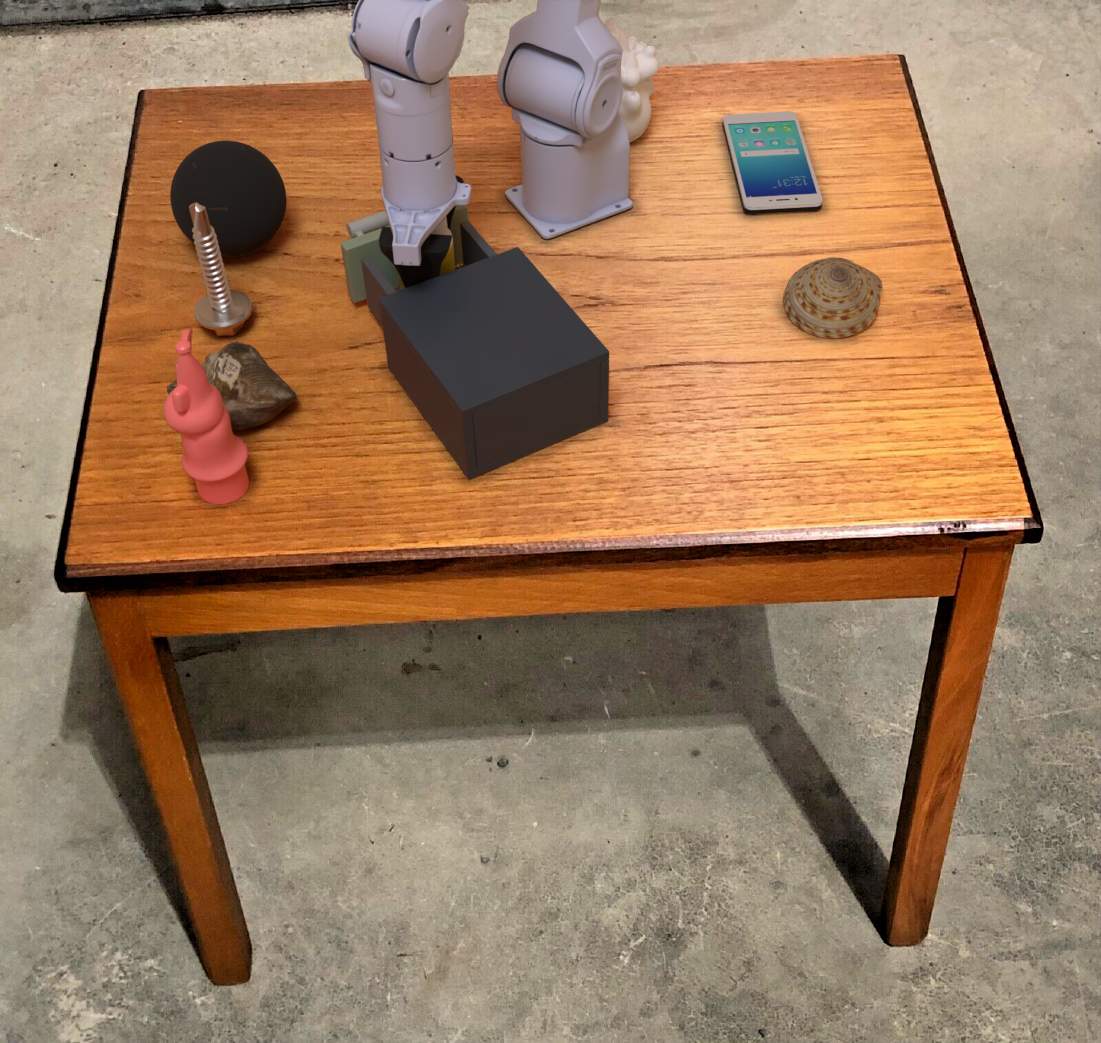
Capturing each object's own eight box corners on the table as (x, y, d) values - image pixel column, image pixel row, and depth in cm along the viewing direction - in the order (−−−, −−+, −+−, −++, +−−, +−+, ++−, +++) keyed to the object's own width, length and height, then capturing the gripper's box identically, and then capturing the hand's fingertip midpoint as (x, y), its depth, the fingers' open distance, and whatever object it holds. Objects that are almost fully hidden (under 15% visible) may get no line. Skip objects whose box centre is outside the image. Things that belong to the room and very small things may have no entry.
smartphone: (796, 110, 141) (825, 203, 131) (795, 117, 141) (824, 211, 131) (720, 114, 140) (744, 208, 131) (720, 121, 141) (743, 215, 131)
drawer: (328, 268, 126) (319, 214, 122) (444, 226, 130) (439, 173, 125) (417, 390, 116) (410, 336, 112) (539, 341, 120) (538, 287, 115)
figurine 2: (669, 144, 139) (674, 32, 130) (612, 168, 137) (614, 55, 127) (626, 111, 143) (629, -1, 134) (571, 133, 140) (570, 21, 131)
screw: (202, 309, 125) (258, 307, 125) (195, 347, 121) (252, 344, 121) (169, 185, 115) (230, 183, 115) (160, 223, 111) (223, 220, 112)
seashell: (897, 262, 123) (879, 285, 117) (880, 323, 126) (862, 350, 119) (805, 238, 126) (783, 260, 119) (791, 299, 128) (768, 323, 122)
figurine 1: (191, 462, 113) (146, 318, 101) (257, 458, 113) (219, 313, 101) (186, 512, 109) (139, 368, 98) (253, 506, 110) (214, 362, 98)
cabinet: (388, 368, 119) (378, 298, 113) (521, 316, 123) (517, 246, 117) (468, 480, 111) (462, 410, 105) (608, 421, 115) (609, 351, 109)
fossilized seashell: (143, 409, 113) (253, 460, 112) (162, 332, 111) (275, 384, 109) (192, 389, 120) (296, 438, 118) (212, 317, 118) (318, 365, 116)
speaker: (219, 295, 126) (195, 201, 118) (163, 240, 131) (137, 147, 123) (315, 248, 130) (298, 155, 122) (258, 196, 135) (238, 104, 127)
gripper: (454, 200, 105) (463, 340, 115) (479, 91, 114) (486, 229, 124) (358, 194, 105) (376, 335, 115) (392, 86, 115) (406, 225, 125)
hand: (428, 280), depth 120 cm, fingers closed on supplement bottle, 4 cm apart
